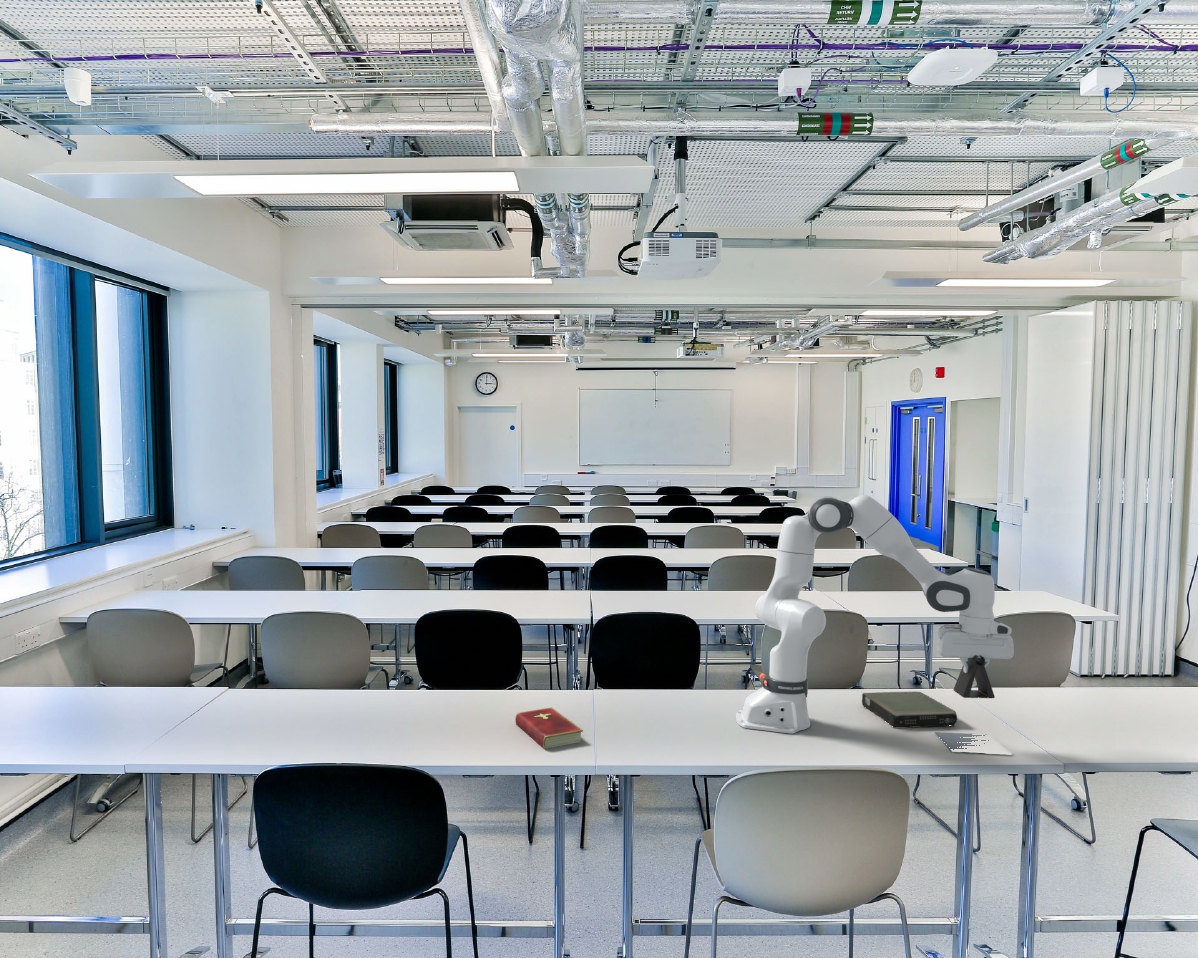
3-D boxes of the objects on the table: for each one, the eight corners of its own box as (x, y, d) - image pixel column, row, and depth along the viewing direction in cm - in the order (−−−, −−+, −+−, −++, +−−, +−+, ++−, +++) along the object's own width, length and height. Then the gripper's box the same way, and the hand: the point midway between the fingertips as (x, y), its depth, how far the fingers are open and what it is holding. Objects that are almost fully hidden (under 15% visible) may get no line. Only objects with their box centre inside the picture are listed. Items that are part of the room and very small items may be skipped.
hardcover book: (543, 751, 206) (544, 736, 206) (515, 725, 224) (515, 712, 224) (582, 743, 211) (582, 729, 211) (551, 719, 230) (551, 706, 230)
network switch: (915, 702, 252) (915, 687, 252) (965, 727, 230) (966, 711, 229) (854, 707, 246) (855, 692, 246) (900, 733, 224) (901, 717, 223)
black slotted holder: (962, 697, 212) (963, 655, 211) (953, 690, 218) (954, 650, 217) (994, 698, 211) (996, 656, 211) (984, 691, 217) (985, 650, 217)
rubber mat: (952, 752, 209) (952, 750, 209) (934, 733, 223) (934, 731, 223) (1012, 755, 207) (1012, 753, 207) (990, 736, 221) (990, 734, 221)
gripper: (943, 626, 211) (941, 674, 212) (1017, 628, 210) (1015, 677, 211) (934, 621, 217) (932, 668, 218) (1006, 623, 216) (1004, 670, 217)
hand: (974, 672), depth 214 cm, fingers closed on black slotted holder, 2 cm apart
